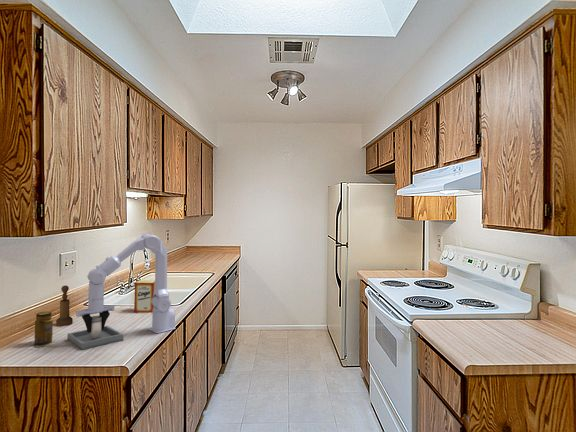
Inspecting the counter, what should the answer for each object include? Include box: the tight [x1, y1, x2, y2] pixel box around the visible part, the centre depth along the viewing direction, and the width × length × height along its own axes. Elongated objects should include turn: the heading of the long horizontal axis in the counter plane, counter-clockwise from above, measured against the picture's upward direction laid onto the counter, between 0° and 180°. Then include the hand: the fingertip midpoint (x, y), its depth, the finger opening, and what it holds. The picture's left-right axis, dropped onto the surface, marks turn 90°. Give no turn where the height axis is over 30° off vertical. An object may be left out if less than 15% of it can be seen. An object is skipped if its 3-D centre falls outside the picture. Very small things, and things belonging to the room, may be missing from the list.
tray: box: [67, 325, 124, 351], centre depth 158 cm, size 16×16×2 cm
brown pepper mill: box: [55, 285, 74, 327], centre depth 177 cm, size 7×6×18 cm
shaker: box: [90, 315, 102, 338], centre depth 158 cm, size 5×5×8 cm
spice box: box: [133, 279, 155, 314], centre depth 203 cm, size 10×6×16 cm
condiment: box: [30, 311, 58, 348], centre depth 153 cm, size 7×8×12 cm
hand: (95, 330), depth 158 cm, fingers closed on shaker, 4 cm apart
